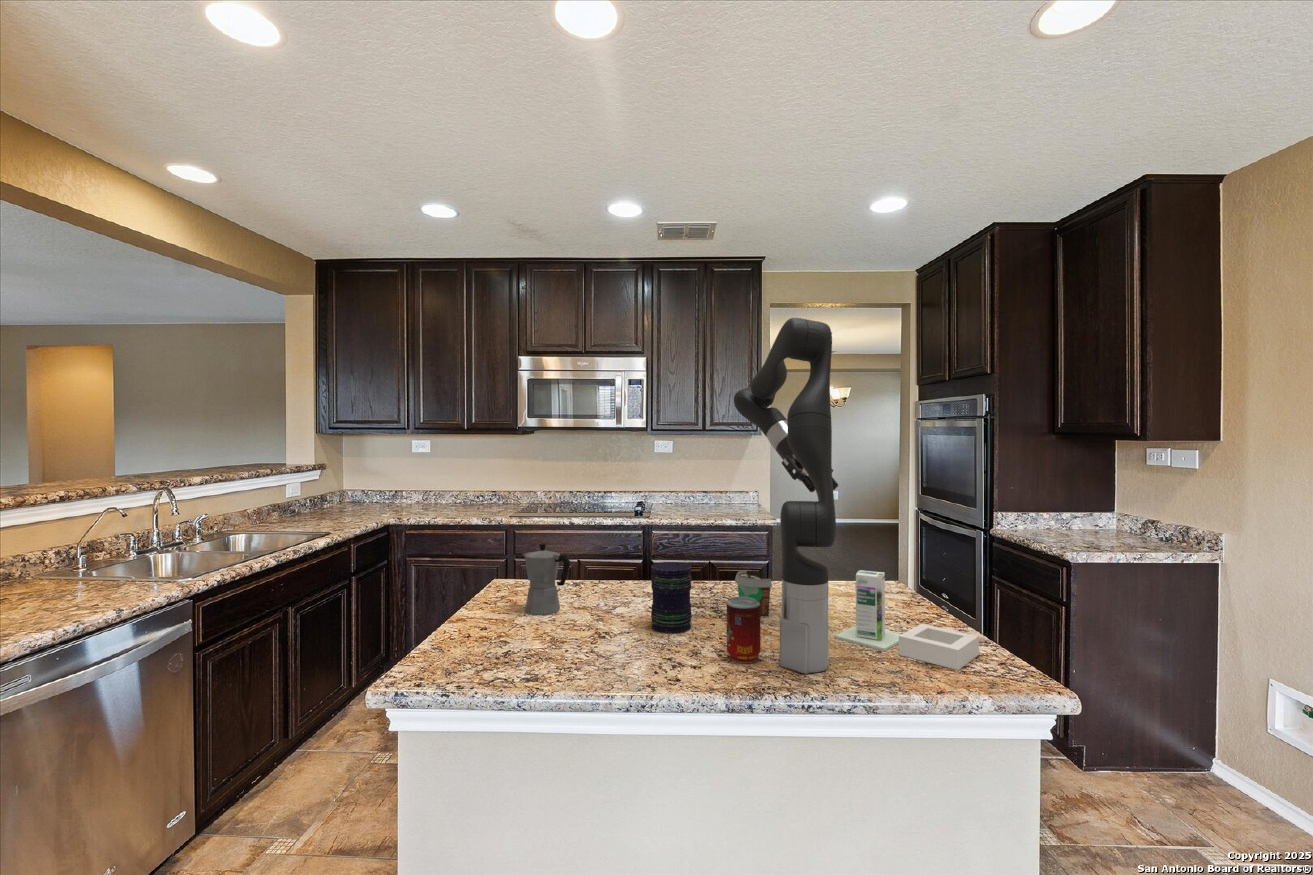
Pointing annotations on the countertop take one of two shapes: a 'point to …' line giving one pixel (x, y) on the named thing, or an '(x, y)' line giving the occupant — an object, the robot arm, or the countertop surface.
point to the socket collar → (939, 646)
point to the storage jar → (671, 597)
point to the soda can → (743, 629)
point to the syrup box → (870, 604)
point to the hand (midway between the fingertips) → (825, 489)
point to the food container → (754, 589)
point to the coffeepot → (544, 580)
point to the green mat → (884, 644)
